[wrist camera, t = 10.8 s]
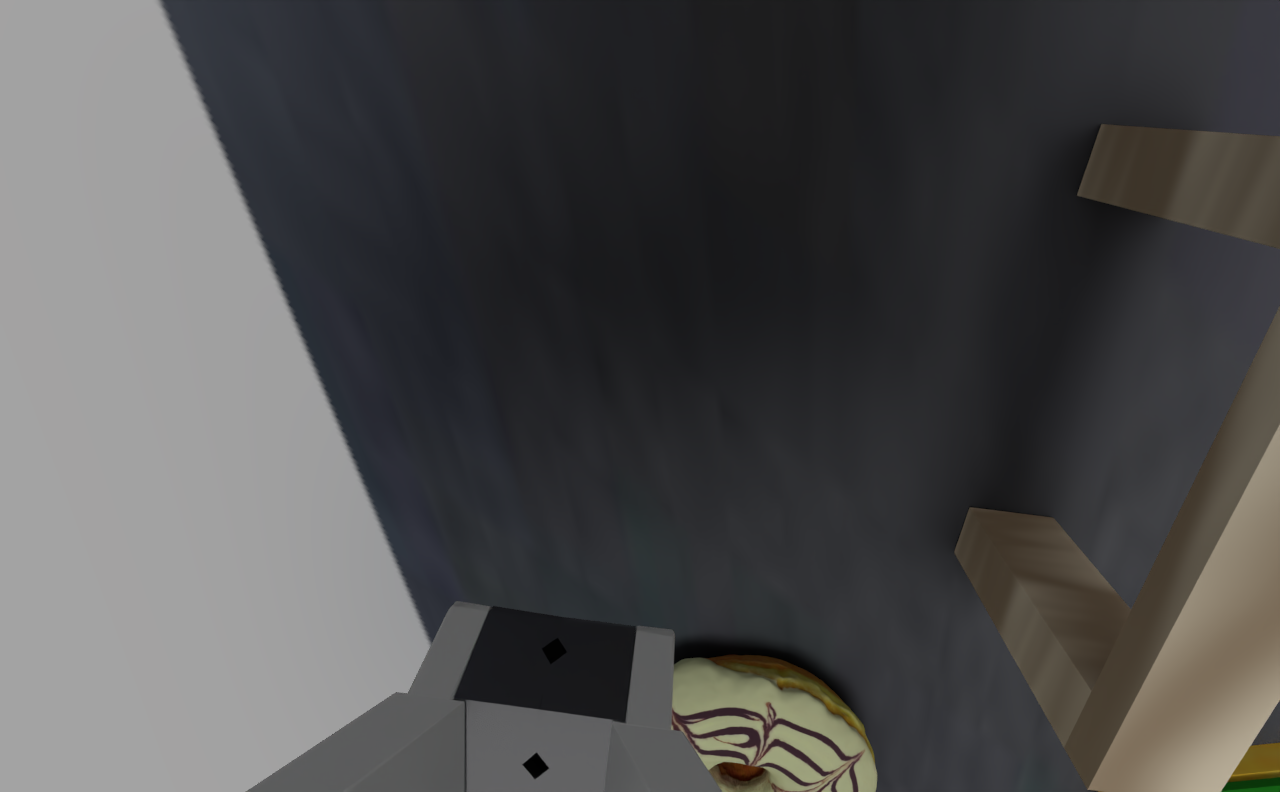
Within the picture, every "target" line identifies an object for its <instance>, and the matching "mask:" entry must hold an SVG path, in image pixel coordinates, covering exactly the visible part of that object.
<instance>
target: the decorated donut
mask: <svg viewBox="0 0 1280 792" xmlns="http://www.w3.org/2000/svg"><path fill="white" fill-rule="evenodd" d="M671 730H676V731H682V732H683V733H684V734H685V736H686V737H687V739H688V740H689V742H690V743H691V745H692V746H693V748H694V749H695V751H696V752H697V754H698V755H699V757H700V758H701V760H702V761H703V763H704V765H705V766H706V768H707V769H708V771H709V772H710V774H711V775H712V777H713V778H714V780H715V781H716V783H717V784H718V786H719V787H720V789H721V790H722V792H875V791H876V786H877V771H876V768H875V759H874V754H873V750H872V747H871V745H870V743H869V741H868V739H867V737H866V735H865V729H864V725H863V724H862V723H861V721H860V720H859V718H858V717H857V716H856V715H855V714H854V713H853V712H852V710H851V709H850V708H849V707H848V706H847V705H846V704H845V703H844V702H843V701H842V700H841V698H840V697H839V696H838V695H837V694H836V693H835V692H834V691H833V690H831V689H830V688H829V687H828V686H827V685H826V684H825V683H824V682H823V681H822V680H820V679H818V678H817V677H816V676H814V675H813V674H811V673H809V672H808V671H806V670H804V669H802V668H800V667H797V666H795V665H792V664H790V663H788V662H786V661H783V660H780V659H776V658H771V657H768V656H761V655H760V656H759V655H742V656H740V655H725V656H719V657H713V658H687V659H682V660H680V661H679V662H677V663H676V664H674V673H673V698H672V723H671Z"/></svg>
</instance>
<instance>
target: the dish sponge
mask: <svg viewBox="0 0 1280 792" xmlns="http://www.w3.org/2000/svg"><path fill="white" fill-rule="evenodd" d="M1098 792H1102V791H1098ZM1221 792H1280V743H1273V744H1264V745H1254V746H1250V747H1249V749H1248V750H1247V752H1246V753H1245V755H1244V756H1243V758H1242V760H1241V761H1240V763H1239V764H1238V766H1237V767H1236V769H1235V770H1234V772H1233V774H1232V775H1231V777H1230V778H1229V780H1228V781H1227V783H1226V785H1225V786H1224V788H1223V789H1222V791H1221Z"/></svg>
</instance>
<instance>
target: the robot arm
mask: <svg viewBox="0 0 1280 792" xmlns="http://www.w3.org/2000/svg"><path fill="white" fill-rule="evenodd" d="M635 629H636V632H635ZM674 648H675V634H674V632H673V630H671V629H662V628H654V627H645V626H637V628H636V626H631V625H623V624H615V623H607V622H599V621H591V620H583V619H575V618H567V617H560V616H553V615H547V614H541V613H534V612H528V611H521V610H515V609H509V608H502V607H496V606H493V607H490V606H485V605H478V604H472V603H466V602H460V601H456V602H455V603H454V604H453V605H452V606H451V607H450V608H449V610H448V612H447V614H446V616H445V618H444V620H443V622H442V624H441V626H440V628H439V630H438V632H437V634H436V636H435V638H434V641H433V643H432V645H431V647H430V649H429V651H428V653H427V655H426V657H425V659H424V661H423V663H422V665H421V667H420V669H419V671H418V673H417V675H416V677H415V679H414V681H413V683H412V686H411V688H410V690H409V692H408V694H407V693H397V692H396V693H395V694H393V695H391V696H390V697H388V698H387V699H385V700H384V701H382V702H381V703H379V704H378V705H376V706H375V707H373V708H372V709H370V710H369V711H367V712H366V713H364V714H363V715H361V716H359V717H358V718H357V719H355V720H353V721H352V722H350V723H349V724H347V725H346V726H344V727H343V728H341V729H340V730H339V731H337V732H335V733H334V734H332V735H331V736H329V737H328V738H326V739H325V740H323V741H322V742H320V743H319V744H317V745H316V746H314V747H313V748H311V749H310V750H308V751H307V752H305V753H304V754H302V755H301V756H299V757H298V758H296V759H295V760H293V761H292V762H290V763H289V764H287V765H286V766H284V767H283V768H281V769H279V770H278V771H276V772H275V773H273V774H272V775H271V776H269V777H267V778H266V779H264V780H263V781H262V782H260V783H258V784H257V785H255V786H254V787H253V788H251V789H249V790H248V791H246V792H722V790H721V789H720V787H719V786H718V784H717V783H716V781H715V780H714V778H713V777H712V775H711V774H710V772H709V771H708V769H707V768H706V766H705V765H704V763H703V761H702V760H701V758H700V757H699V755H698V754H697V752H696V751H695V749H694V748H693V746H692V745H691V743H690V742H689V740H688V739H687V737H686V736H685V734H684V733H683V732H682V731H676V730H671V723H672V698H673V673H674Z"/></svg>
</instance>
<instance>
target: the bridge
mask: <svg viewBox="0 0 1280 792" xmlns="http://www.w3.org/2000/svg"><path fill="white" fill-rule="evenodd" d="M1077 196H1080V197H1084V198H1088V199H1092V200H1096V201H1099V202H1103V203H1107V204H1111V205H1115V206H1118V207H1122V208H1126V209H1130V210H1134V211H1138V212H1141V213H1145V214H1149V215H1153V216H1157V217H1160V218H1164V219H1168V220H1172V221H1176V222H1179V223H1183V224H1187V225H1191V226H1195V227H1199V228H1202V229H1206V230H1210V231H1214V232H1218V233H1221V234H1225V235H1229V236H1233V237H1237V238H1241V239H1244V240H1248V241H1252V242H1256V243H1260V244H1263V245H1267V246H1271V247H1275V248H1279V249H1280V136H1265V135H1251V134H1237V133H1222V132H1208V131H1193V130H1179V129H1165V128H1150V127H1136V126H1121V125H1107V124H1101V127H1100V130H1099V132H1098V135H1097V138H1096V141H1095V144H1094V147H1093V150H1092V153H1091V156H1090V159H1089V162H1088V164H1087V167H1086V170H1085V173H1084V176H1083V179H1082V182H1081V185H1080V188H1079V191H1078V194H1077ZM954 553H955V555H956V557H957V558H958V560H959V562H960V564H961V566H962V567H963V569H964V571H965V573H966V574H967V576H968V578H969V580H970V582H971V583H972V585H973V587H974V589H975V590H976V592H977V594H978V596H979V598H980V599H981V601H982V603H983V605H984V606H985V608H986V610H987V612H988V613H989V615H990V617H991V619H992V621H993V622H994V624H995V626H996V628H997V629H998V631H999V633H1000V635H1001V637H1002V638H1003V640H1004V642H1005V644H1006V645H1007V647H1008V649H1009V651H1010V653H1011V654H1012V656H1013V658H1014V660H1015V661H1016V663H1017V665H1018V667H1019V669H1020V670H1021V672H1022V674H1023V676H1024V677H1025V679H1026V681H1027V683H1028V685H1029V686H1030V688H1031V690H1032V692H1033V693H1034V695H1035V697H1036V699H1037V701H1038V702H1039V704H1040V706H1041V708H1042V709H1043V711H1044V713H1045V715H1046V717H1047V718H1048V720H1049V722H1050V724H1051V725H1052V727H1053V729H1054V731H1055V732H1056V734H1057V736H1058V738H1059V740H1060V741H1061V743H1062V745H1063V747H1064V748H1065V750H1066V752H1067V754H1068V756H1069V757H1070V759H1071V761H1072V763H1073V764H1074V766H1075V768H1076V770H1077V772H1078V773H1079V775H1080V777H1081V779H1082V780H1083V782H1084V784H1085V786H1086V788H1087V789H1088V790H1095V791H1102V792H1221V791H1222V789H1223V788H1224V786H1225V785H1226V783H1227V781H1228V780H1229V778H1230V777H1231V775H1232V774H1233V772H1234V770H1235V769H1236V767H1237V766H1238V764H1239V763H1240V761H1241V760H1242V758H1243V756H1244V755H1245V753H1246V752H1247V750H1248V749H1249V747H1250V746H1251V744H1252V742H1253V741H1254V739H1255V738H1256V736H1257V735H1258V733H1259V731H1260V730H1261V728H1262V727H1263V725H1264V724H1265V722H1266V721H1267V719H1268V717H1269V716H1270V714H1271V713H1272V711H1273V710H1274V708H1275V706H1276V705H1277V703H1278V702H1279V700H1280V307H1279V309H1278V311H1277V313H1276V315H1275V317H1274V319H1273V321H1272V323H1271V325H1270V327H1269V329H1268V331H1267V333H1266V335H1265V337H1264V340H1263V342H1262V344H1261V346H1260V348H1259V350H1258V352H1257V354H1256V356H1255V358H1254V360H1253V362H1252V364H1251V366H1250V368H1249V370H1248V372H1247V374H1246V376H1245V378H1244V380H1243V382H1242V385H1241V387H1240V389H1239V391H1238V393H1237V395H1236V397H1235V399H1234V401H1233V403H1232V405H1231V407H1230V409H1229V411H1228V413H1227V415H1226V417H1225V419H1224V421H1223V423H1222V425H1221V428H1220V430H1219V432H1218V434H1217V436H1216V438H1215V440H1214V442H1213V444H1212V446H1211V448H1210V450H1209V452H1208V454H1207V456H1206V458H1205V460H1204V462H1203V464H1202V466H1201V468H1200V470H1199V473H1198V475H1197V477H1196V479H1195V481H1194V483H1193V485H1192V487H1191V489H1190V491H1189V493H1188V495H1187V497H1186V499H1185V501H1184V503H1183V505H1182V507H1181V509H1180V511H1179V513H1178V515H1177V518H1176V520H1175V522H1174V524H1173V526H1172V528H1171V530H1170V532H1169V534H1168V536H1167V538H1166V540H1165V542H1164V544H1163V546H1162V548H1161V550H1160V552H1159V554H1158V556H1157V558H1156V560H1155V563H1154V565H1153V567H1152V569H1151V571H1150V573H1149V575H1148V577H1147V579H1146V581H1145V583H1144V585H1143V587H1142V589H1141V591H1140V593H1139V595H1138V597H1137V599H1136V601H1135V603H1134V605H1133V608H1132V610H1131V609H1130V608H1129V607H1128V606H1127V604H1126V603H1125V602H1124V601H1123V600H1122V599H1121V597H1120V596H1119V595H1118V594H1117V593H1116V591H1115V590H1114V589H1113V588H1112V587H1111V585H1110V584H1109V583H1108V582H1107V581H1106V580H1105V578H1104V577H1103V576H1102V575H1101V574H1100V572H1099V571H1098V570H1097V569H1096V568H1095V567H1094V565H1093V564H1092V563H1091V562H1090V561H1089V559H1088V558H1087V557H1086V556H1085V555H1084V554H1083V552H1082V551H1081V550H1080V549H1079V548H1078V546H1077V545H1076V544H1075V543H1074V542H1073V540H1072V539H1071V538H1070V537H1069V536H1068V535H1067V533H1066V532H1065V531H1064V530H1063V529H1062V527H1061V526H1060V525H1059V524H1058V523H1057V522H1056V520H1055V519H1054V518H1052V517H1044V516H1036V515H1028V514H1021V513H1013V512H1005V511H997V510H989V509H981V508H973V507H969V510H968V513H967V516H966V519H965V522H964V525H963V528H962V531H961V534H960V537H959V539H958V542H957V545H956V548H955V551H954Z"/></svg>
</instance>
